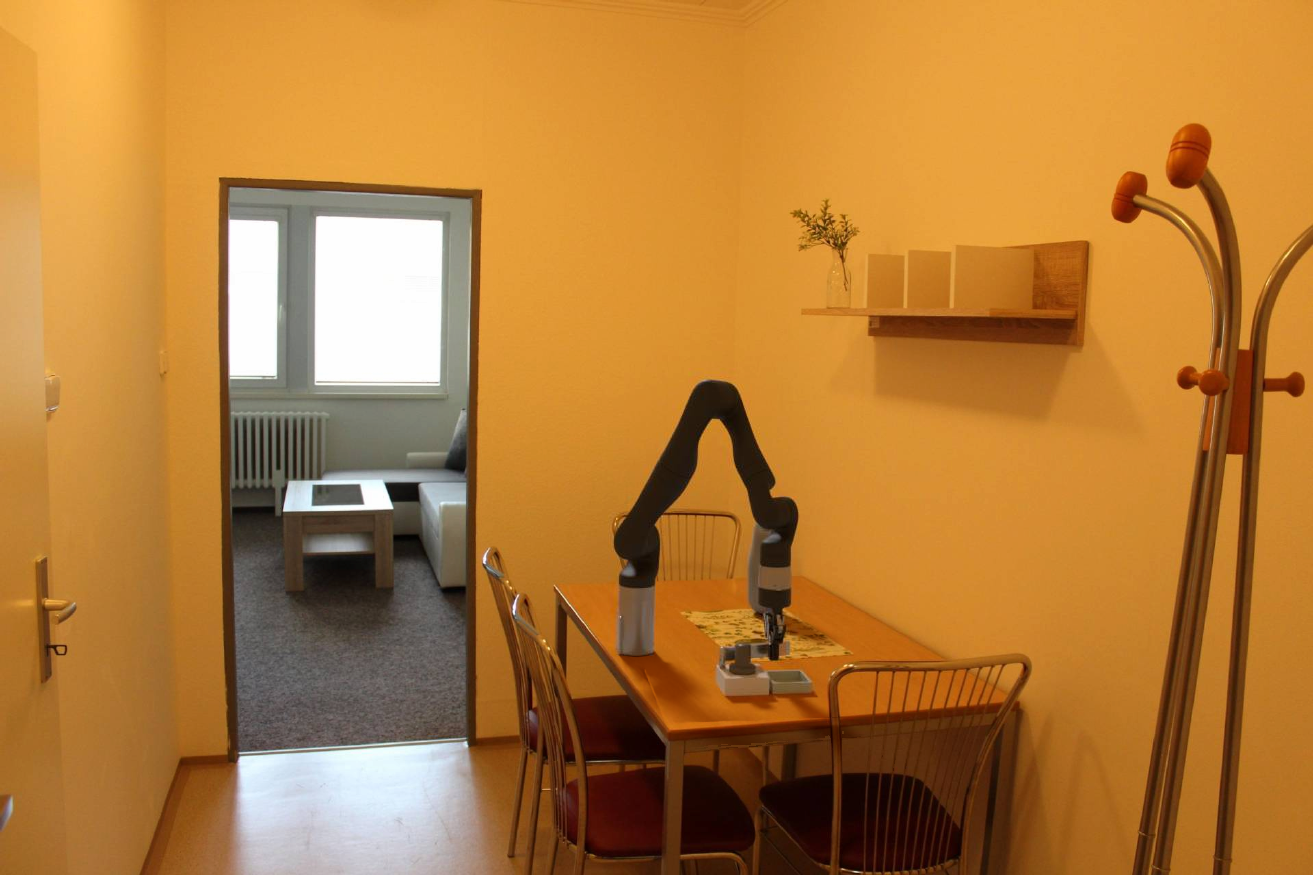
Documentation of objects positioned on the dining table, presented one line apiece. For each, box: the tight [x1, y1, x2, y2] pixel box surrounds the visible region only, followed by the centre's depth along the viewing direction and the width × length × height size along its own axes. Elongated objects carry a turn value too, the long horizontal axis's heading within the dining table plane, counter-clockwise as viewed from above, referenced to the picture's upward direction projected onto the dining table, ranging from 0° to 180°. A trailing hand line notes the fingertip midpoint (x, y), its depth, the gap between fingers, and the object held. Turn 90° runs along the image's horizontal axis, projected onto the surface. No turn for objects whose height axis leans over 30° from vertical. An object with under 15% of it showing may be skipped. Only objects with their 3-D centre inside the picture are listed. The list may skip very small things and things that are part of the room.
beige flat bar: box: [718, 639, 791, 668], centre depth 245 cm, size 18×2×5 cm, turn 113°
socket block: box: [715, 663, 770, 697], centre depth 240 cm, size 10×10×4 cm
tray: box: [764, 669, 813, 695], centre depth 242 cm, size 9×9×2 cm
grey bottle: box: [746, 521, 772, 615], centre depth 310 cm, size 10×10×28 cm
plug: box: [728, 642, 756, 675], centre depth 240 cm, size 6×6×10 cm
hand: (773, 659), depth 244 cm, fingers closed
